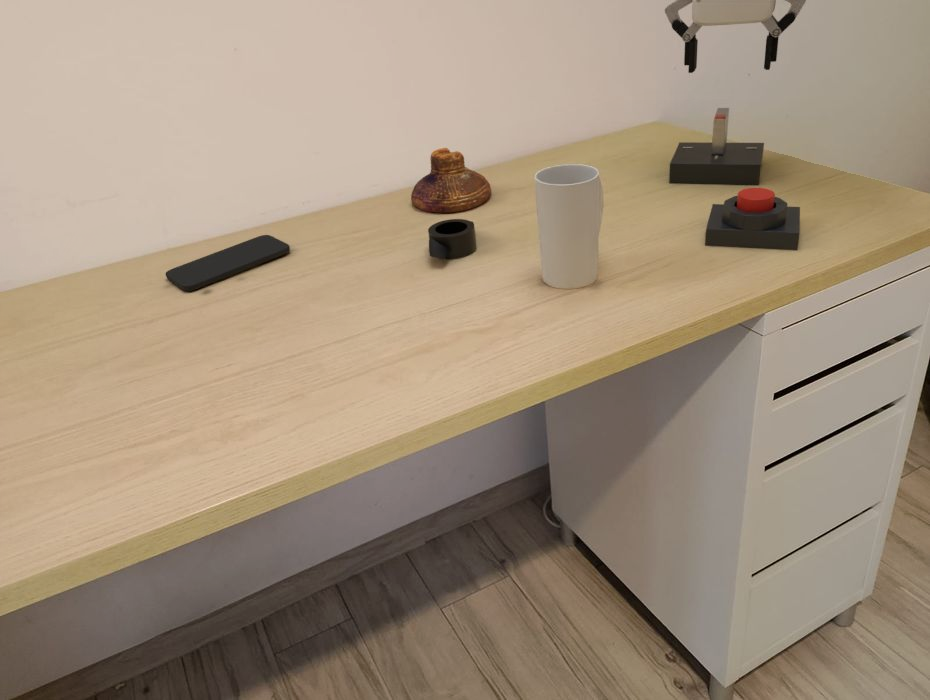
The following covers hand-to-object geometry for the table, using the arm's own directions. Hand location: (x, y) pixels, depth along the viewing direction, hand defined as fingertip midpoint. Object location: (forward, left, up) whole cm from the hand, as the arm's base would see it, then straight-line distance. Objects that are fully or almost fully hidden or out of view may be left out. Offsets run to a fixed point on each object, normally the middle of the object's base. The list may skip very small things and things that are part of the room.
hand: (729, 69), depth 101 cm
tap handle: (+1, -1, -11) cm, 11 cm away
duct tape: (+30, +32, -15) cm, 46 cm away
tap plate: (+1, 0, -14) cm, 14 cm away
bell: (+37, +15, -15) cm, 42 cm away
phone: (+58, +41, -14) cm, 72 cm away
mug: (+13, +36, -15) cm, 40 cm away
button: (-5, +23, -11) cm, 26 cm away
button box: (-5, +23, -14) cm, 27 cm away
